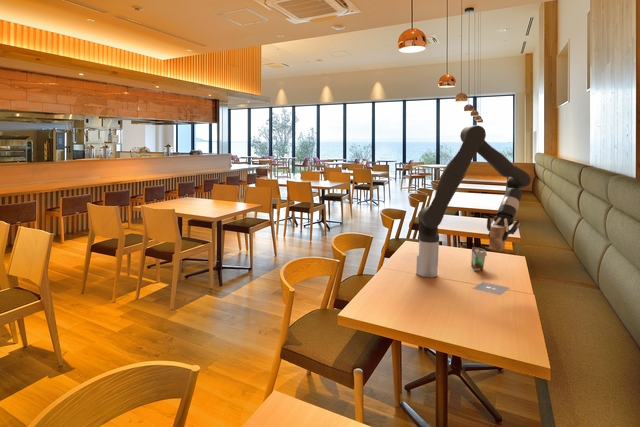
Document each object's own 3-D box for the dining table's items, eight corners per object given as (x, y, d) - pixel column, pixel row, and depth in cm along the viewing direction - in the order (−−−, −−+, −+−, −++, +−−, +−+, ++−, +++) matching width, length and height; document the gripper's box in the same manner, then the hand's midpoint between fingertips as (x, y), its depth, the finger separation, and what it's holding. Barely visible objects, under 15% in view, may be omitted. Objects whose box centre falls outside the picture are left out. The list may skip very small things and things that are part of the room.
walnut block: (488, 248, 180) (490, 226, 179) (493, 246, 184) (494, 224, 182) (500, 250, 177) (502, 228, 175) (504, 248, 181) (506, 226, 179)
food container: (487, 273, 202) (489, 253, 200) (474, 272, 203) (476, 253, 202) (483, 266, 214) (484, 247, 212) (470, 265, 215) (471, 247, 214)
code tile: (472, 288, 181) (472, 288, 181) (482, 281, 190) (482, 281, 190) (500, 295, 173) (500, 295, 173) (510, 288, 182) (510, 287, 182)
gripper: (490, 202, 188) (478, 231, 181) (523, 205, 178) (512, 236, 172) (493, 212, 193) (482, 241, 186) (526, 215, 183) (515, 246, 177)
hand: (496, 239), depth 179 cm, fingers closed on walnut block, 5 cm apart
